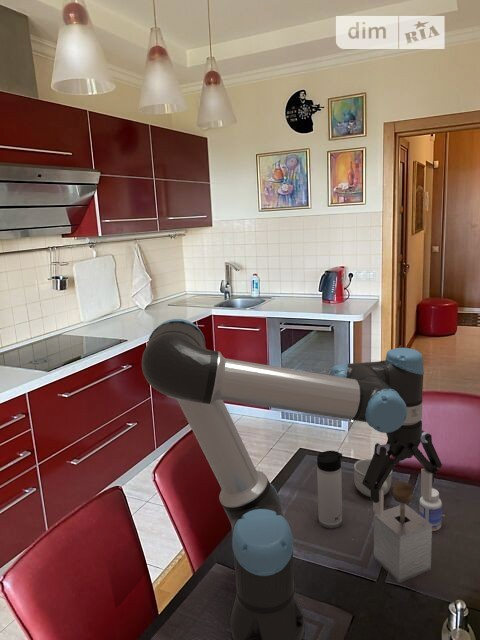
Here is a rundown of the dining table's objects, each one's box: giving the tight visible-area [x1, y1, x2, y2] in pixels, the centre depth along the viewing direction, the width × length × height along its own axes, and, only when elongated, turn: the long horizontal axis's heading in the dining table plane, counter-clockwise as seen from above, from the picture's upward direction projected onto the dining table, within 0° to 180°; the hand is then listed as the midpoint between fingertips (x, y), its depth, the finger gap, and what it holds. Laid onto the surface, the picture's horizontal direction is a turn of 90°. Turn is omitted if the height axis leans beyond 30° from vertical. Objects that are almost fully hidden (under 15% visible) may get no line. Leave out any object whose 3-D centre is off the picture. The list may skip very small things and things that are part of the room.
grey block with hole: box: [373, 503, 433, 584], centre depth 116 cm, size 9×11×12 cm
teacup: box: [353, 458, 394, 498], centre depth 143 cm, size 14×11×8 cm
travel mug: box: [316, 450, 343, 529], centre depth 130 cm, size 6×7×20 cm
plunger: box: [393, 480, 413, 524], centre depth 113 cm, size 7×7×18 cm
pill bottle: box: [418, 487, 443, 532], centre depth 128 cm, size 5×5×10 cm
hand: (402, 504), depth 112 cm, fingers open, 13 cm apart
